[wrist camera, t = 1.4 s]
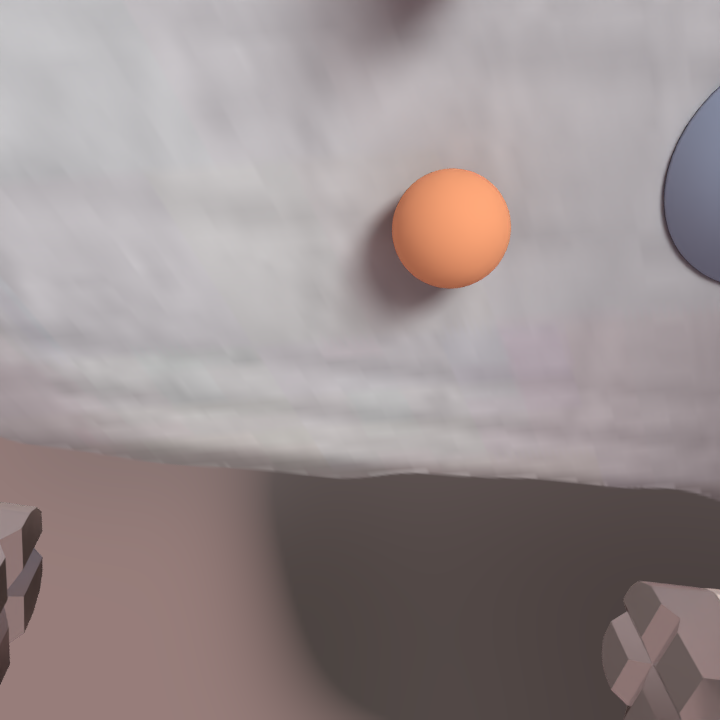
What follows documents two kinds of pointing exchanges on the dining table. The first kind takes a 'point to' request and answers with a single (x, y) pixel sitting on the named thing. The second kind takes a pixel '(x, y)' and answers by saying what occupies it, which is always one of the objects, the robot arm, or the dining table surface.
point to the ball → (451, 228)
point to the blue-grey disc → (697, 190)
